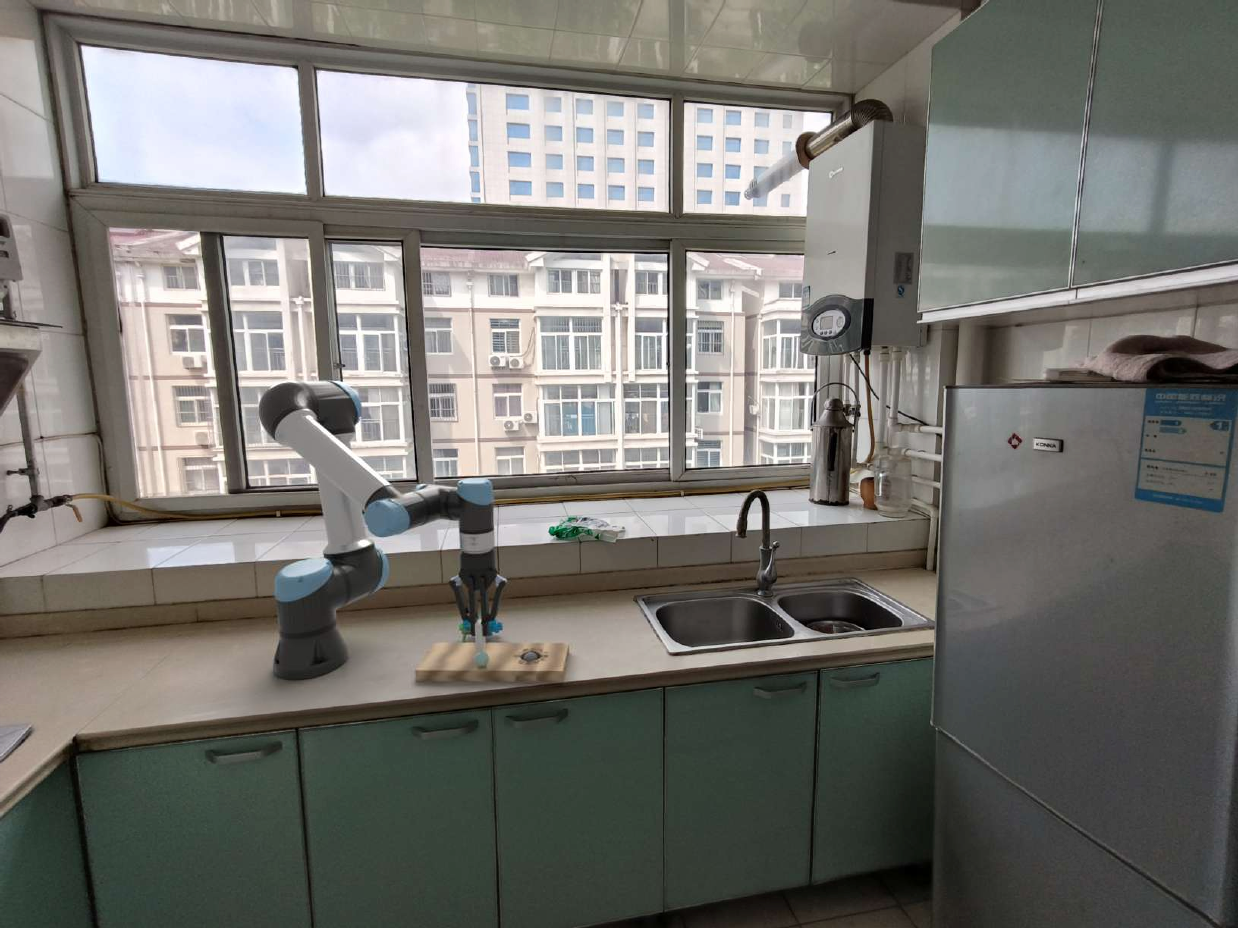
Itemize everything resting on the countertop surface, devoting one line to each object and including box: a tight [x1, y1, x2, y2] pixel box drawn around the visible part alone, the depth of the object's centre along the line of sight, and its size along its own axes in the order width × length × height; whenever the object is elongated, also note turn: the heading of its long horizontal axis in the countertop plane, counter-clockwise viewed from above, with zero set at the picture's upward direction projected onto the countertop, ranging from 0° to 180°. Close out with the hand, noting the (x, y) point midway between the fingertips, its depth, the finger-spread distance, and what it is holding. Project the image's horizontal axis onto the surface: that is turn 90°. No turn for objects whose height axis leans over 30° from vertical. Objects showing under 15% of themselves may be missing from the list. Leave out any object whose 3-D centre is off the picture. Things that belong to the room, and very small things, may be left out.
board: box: [414, 642, 570, 683], centre depth 131 cm, size 32×13×2 cm, turn 89°
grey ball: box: [523, 652, 538, 661], centre depth 131 cm, size 3×3×3 cm
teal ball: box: [474, 651, 489, 667], centre depth 126 cm, size 3×3×3 cm
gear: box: [458, 617, 504, 643], centre depth 142 cm, size 11×6×10 cm
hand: (480, 648), depth 130 cm, fingers closed
